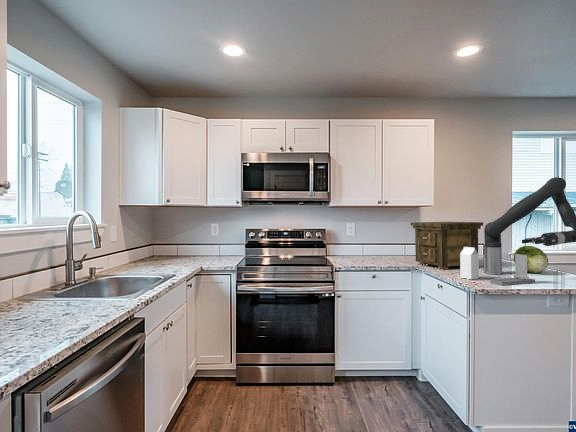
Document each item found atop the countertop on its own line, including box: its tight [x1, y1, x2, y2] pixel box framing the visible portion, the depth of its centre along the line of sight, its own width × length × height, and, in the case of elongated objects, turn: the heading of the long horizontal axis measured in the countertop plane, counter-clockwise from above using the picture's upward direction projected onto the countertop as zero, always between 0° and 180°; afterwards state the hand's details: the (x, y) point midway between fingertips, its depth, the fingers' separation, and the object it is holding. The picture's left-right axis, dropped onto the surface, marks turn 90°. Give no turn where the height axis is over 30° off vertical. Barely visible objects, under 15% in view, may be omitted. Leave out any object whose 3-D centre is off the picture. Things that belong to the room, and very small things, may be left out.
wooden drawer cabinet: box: [410, 221, 484, 270], centre depth 254 cm, size 35×35×33 cm
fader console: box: [489, 277, 536, 287], centre depth 191 cm, size 22×8×2 cm, turn 103°
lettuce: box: [513, 245, 549, 274], centre depth 222 cm, size 17×23×17 cm
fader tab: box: [513, 254, 530, 279], centre depth 192 cm, size 4×6×13 cm, turn 13°
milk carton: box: [459, 247, 480, 280], centre depth 205 cm, size 7×7×19 cm
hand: (528, 242), depth 194 cm, fingers open, 8 cm apart
